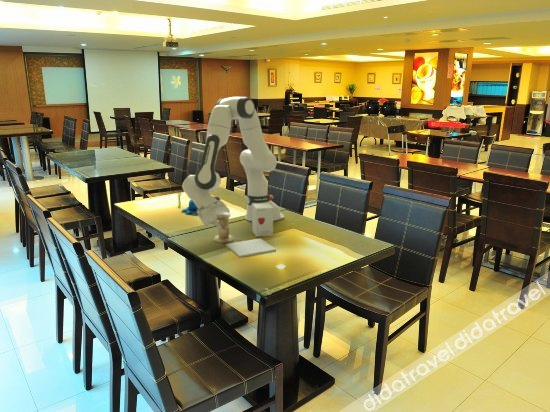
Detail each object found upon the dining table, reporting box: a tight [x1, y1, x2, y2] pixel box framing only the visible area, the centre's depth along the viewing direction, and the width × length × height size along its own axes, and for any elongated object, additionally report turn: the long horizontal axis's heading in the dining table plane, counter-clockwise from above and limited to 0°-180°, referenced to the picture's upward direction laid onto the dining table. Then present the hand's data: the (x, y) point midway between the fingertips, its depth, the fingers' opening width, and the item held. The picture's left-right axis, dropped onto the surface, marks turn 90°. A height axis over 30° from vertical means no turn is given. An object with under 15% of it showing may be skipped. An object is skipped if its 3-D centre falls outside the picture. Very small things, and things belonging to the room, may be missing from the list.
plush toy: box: [181, 199, 199, 217], centre depth 251 cm, size 17×17×8 cm
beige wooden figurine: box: [214, 212, 234, 244], centre depth 204 cm, size 9×9×13 cm
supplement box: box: [251, 203, 274, 238], centre depth 213 cm, size 9×9×15 cm
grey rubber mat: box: [225, 237, 277, 258], centre depth 195 cm, size 18×16×1 cm
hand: (224, 226), depth 203 cm, fingers closed on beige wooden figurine, 5 cm apart
